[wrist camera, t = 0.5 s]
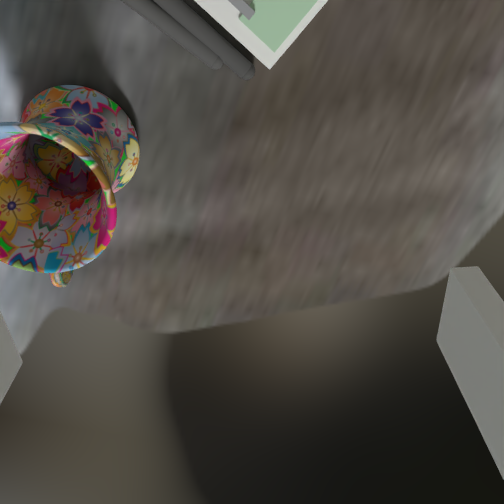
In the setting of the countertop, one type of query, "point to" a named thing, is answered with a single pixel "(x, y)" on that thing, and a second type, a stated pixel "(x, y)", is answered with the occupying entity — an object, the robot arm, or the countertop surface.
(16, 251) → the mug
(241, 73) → the cable
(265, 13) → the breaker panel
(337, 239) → the countertop surface
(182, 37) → the cable
